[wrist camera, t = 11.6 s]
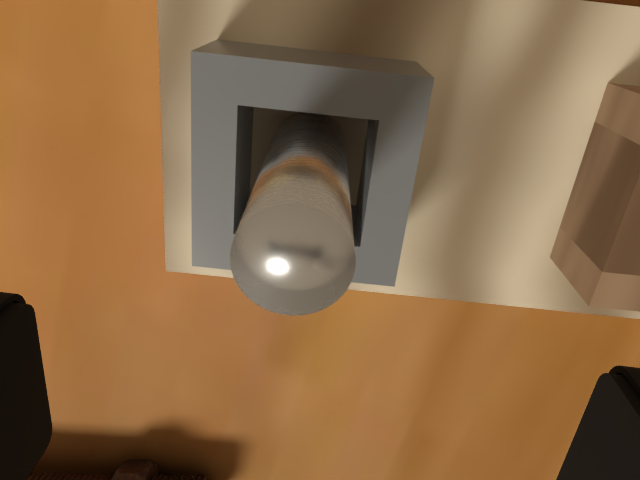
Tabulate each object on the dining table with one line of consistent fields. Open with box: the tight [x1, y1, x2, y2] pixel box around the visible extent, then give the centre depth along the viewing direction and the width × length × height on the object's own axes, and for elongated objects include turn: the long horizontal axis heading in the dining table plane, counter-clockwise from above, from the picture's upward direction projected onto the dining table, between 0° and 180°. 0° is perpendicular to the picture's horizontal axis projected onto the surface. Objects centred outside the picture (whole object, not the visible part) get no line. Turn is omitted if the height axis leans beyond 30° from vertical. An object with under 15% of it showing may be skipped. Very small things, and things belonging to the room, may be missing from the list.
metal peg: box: [230, 112, 356, 315], centre depth 17 cm, size 3×3×10 cm
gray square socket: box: [191, 40, 434, 287], centre depth 20 cm, size 8×8×4 cm
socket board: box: [158, 0, 640, 319], centre depth 21 cm, size 28×13×6 cm, turn 84°
